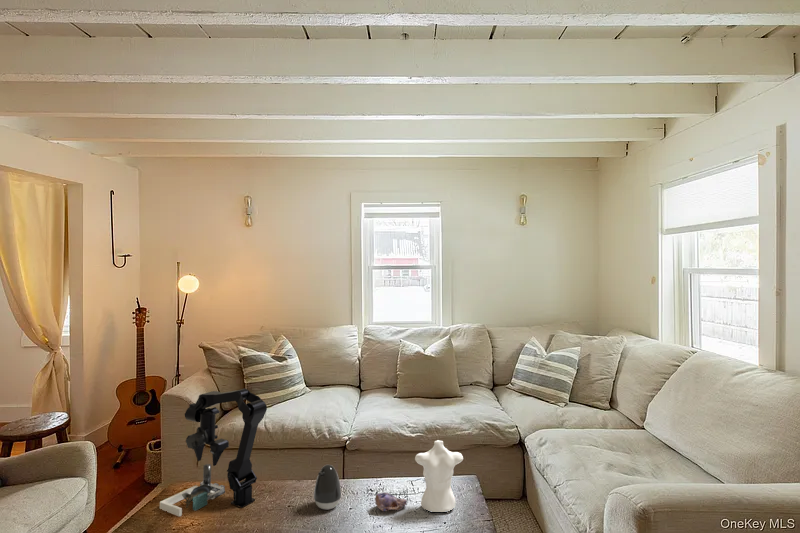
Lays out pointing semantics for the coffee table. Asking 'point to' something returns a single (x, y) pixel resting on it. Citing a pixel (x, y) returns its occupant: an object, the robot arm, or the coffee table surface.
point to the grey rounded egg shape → (327, 488)
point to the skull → (389, 502)
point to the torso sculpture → (438, 477)
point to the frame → (168, 502)
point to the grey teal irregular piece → (202, 498)
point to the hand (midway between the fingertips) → (206, 463)
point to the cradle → (217, 490)
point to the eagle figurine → (196, 493)
